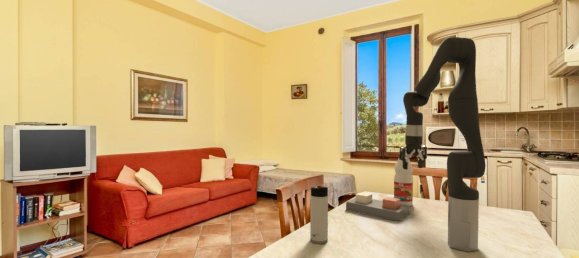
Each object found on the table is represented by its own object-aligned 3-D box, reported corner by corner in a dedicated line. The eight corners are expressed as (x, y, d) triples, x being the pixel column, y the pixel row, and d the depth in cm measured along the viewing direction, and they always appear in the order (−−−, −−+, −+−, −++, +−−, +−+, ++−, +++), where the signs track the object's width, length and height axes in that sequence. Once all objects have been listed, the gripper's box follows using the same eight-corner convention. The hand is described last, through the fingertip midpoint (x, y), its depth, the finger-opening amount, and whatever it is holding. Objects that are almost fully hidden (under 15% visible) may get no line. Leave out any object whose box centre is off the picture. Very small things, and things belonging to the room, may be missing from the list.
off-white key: (366, 204, 145) (366, 196, 145) (355, 202, 149) (355, 194, 149) (372, 202, 150) (372, 194, 150) (361, 200, 154) (361, 192, 154)
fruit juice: (415, 203, 160) (416, 151, 160) (408, 207, 153) (409, 152, 152) (397, 200, 166) (398, 150, 166) (390, 204, 159) (391, 151, 159)
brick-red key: (395, 210, 136) (395, 201, 136) (382, 207, 140) (382, 199, 140) (400, 207, 141) (400, 198, 140) (387, 205, 145) (387, 196, 144)
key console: (398, 221, 131) (398, 212, 131) (346, 209, 148) (346, 201, 148) (409, 214, 142) (409, 205, 142) (359, 204, 159) (359, 196, 159)
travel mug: (314, 245, 105) (314, 188, 104) (307, 238, 111) (308, 184, 111) (330, 243, 106) (331, 187, 106) (323, 236, 113) (324, 183, 112)
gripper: (407, 136, 134) (406, 171, 136) (432, 134, 139) (430, 169, 140) (396, 134, 141) (394, 168, 143) (420, 133, 146) (418, 165, 147)
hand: (412, 168), depth 142 cm, fingers open, 8 cm apart
